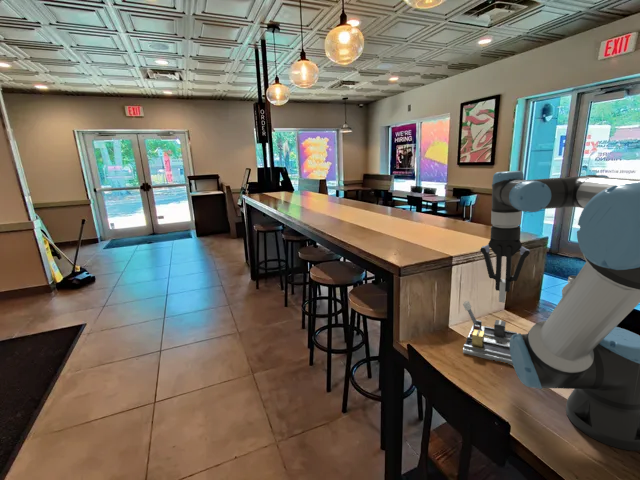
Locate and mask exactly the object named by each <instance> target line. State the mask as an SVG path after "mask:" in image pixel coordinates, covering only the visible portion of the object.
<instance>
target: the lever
mask: <svg viewBox="0 0 640 480" xmlns="http://www.w3.org/2000/svg"><path fill="white" fill-rule="evenodd" d="M462 305H463V308H464V310H465V311H467V312H468V315H469V316H470V319H471V321H472V323H473V325H479V324H478V323H477V321H476V320H477V318H476V317H475V314H474V312H473V310H472V305H471V302H470V301H469V300H466V301H463V303H462Z"/></svg>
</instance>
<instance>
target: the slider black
mask: <svg viewBox="0 0 640 480" xmlns="http://www.w3.org/2000/svg"><path fill="white" fill-rule="evenodd" d="M493 326H494V327H493V328H494V335H495V336H500V337H504V335H505V330H506V321H504V320H501V319H495V321H494V324H493Z"/></svg>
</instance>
